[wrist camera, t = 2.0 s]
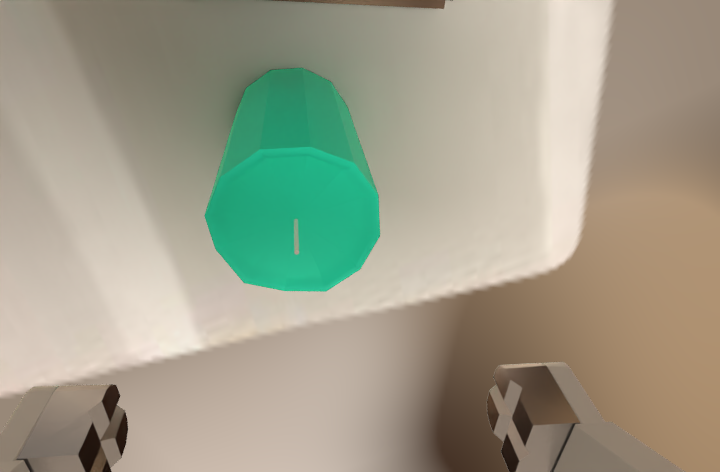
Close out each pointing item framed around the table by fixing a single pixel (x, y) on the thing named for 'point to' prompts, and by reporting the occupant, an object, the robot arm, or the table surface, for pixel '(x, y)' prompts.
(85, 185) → the table surface
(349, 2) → the holder
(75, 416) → the robot arm
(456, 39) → the table surface
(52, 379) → the table surface
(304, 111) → the candle
